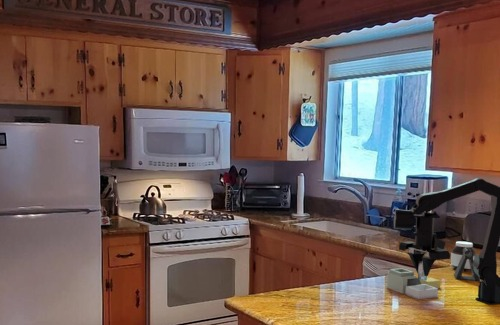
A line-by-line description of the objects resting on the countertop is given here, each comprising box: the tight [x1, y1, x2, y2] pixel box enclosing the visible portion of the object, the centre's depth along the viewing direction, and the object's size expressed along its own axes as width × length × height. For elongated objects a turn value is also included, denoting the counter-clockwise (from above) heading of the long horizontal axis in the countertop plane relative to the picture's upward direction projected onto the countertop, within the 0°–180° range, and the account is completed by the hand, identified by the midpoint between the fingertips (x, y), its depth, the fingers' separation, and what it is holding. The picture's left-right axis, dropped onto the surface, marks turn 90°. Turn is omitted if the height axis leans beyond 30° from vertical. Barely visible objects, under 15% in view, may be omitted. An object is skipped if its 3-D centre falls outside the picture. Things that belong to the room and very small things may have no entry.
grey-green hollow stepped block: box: [386, 267, 421, 294], centre depth 183 cm, size 8×9×7 cm
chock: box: [420, 276, 441, 289], centre depth 188 cm, size 5×6×3 cm
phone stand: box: [453, 248, 481, 282], centre depth 203 cm, size 9×6×12 cm, turn 75°
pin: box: [417, 261, 428, 281], centre depth 175 cm, size 3×3×6 cm
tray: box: [405, 284, 439, 300], centre depth 175 cm, size 6×9×3 cm, turn 116°
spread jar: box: [450, 240, 477, 272], centre depth 222 cm, size 12×11×12 cm
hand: (422, 274), depth 175 cm, fingers closed on pin, 3 cm apart
